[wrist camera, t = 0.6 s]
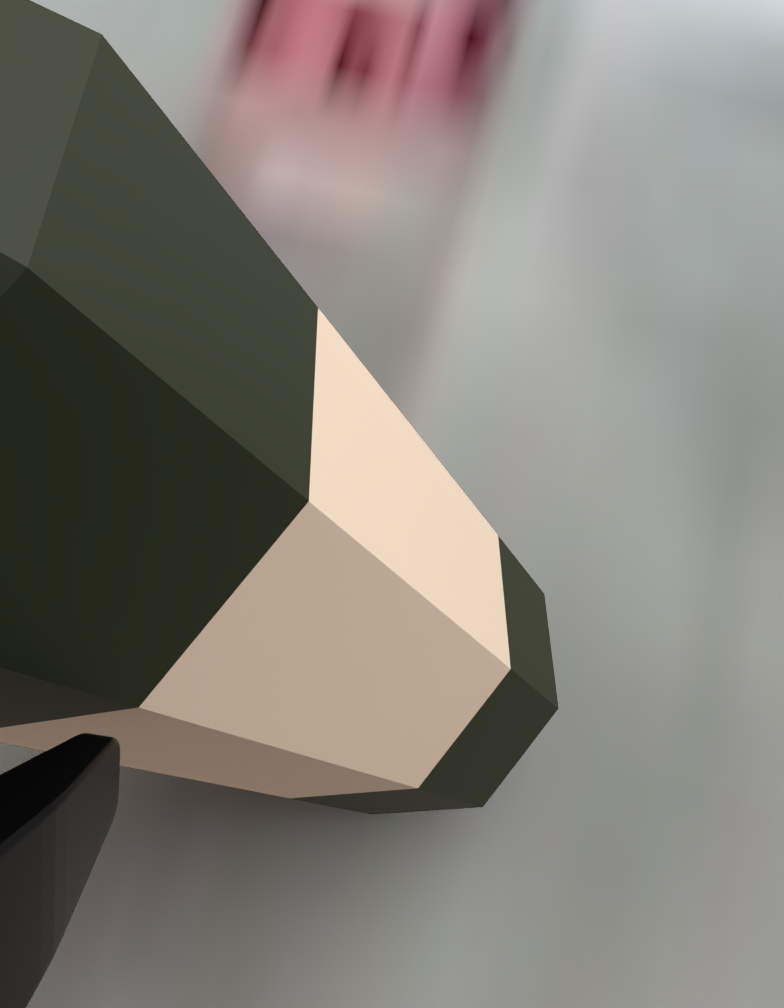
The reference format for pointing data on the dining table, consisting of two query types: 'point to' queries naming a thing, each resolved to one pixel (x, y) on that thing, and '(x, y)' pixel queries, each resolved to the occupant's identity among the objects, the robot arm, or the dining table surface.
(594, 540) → the dining table surface
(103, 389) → the wine bottle
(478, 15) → the dining table surface
